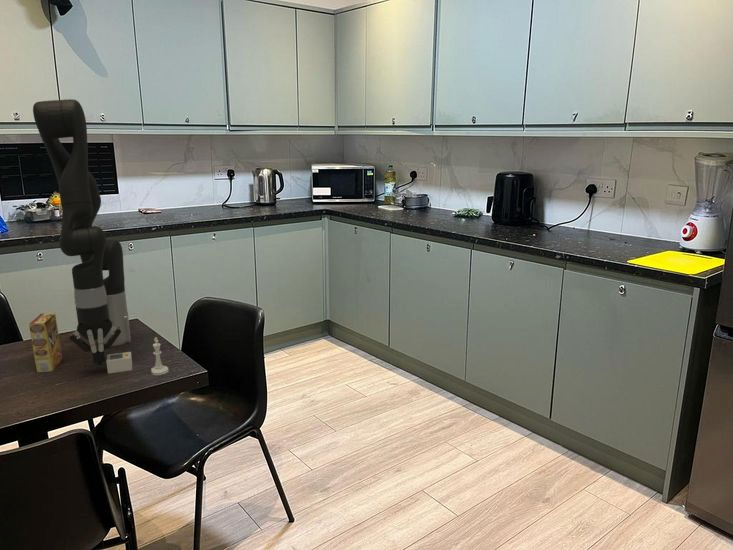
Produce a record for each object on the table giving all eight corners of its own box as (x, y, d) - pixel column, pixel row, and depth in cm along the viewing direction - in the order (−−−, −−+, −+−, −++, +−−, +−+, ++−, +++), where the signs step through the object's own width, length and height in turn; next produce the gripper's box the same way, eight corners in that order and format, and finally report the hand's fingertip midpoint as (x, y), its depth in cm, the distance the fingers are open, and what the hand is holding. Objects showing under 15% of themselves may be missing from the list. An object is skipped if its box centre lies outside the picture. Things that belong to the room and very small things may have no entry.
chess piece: (163, 366, 154) (160, 333, 152) (171, 371, 151) (168, 337, 148) (146, 371, 151) (143, 337, 148) (154, 377, 147) (150, 342, 145)
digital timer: (132, 363, 153) (130, 350, 152) (132, 370, 148) (130, 357, 148) (108, 366, 151) (107, 354, 150) (107, 373, 146) (106, 360, 145)
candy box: (53, 375, 148) (45, 322, 145) (36, 377, 147) (28, 323, 144) (63, 363, 157) (56, 312, 153) (47, 364, 156) (39, 313, 152)
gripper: (119, 295, 149) (126, 354, 153) (64, 301, 144) (73, 362, 148) (119, 303, 142) (126, 365, 147) (61, 310, 137) (71, 373, 142)
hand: (99, 363), depth 147 cm, fingers closed
